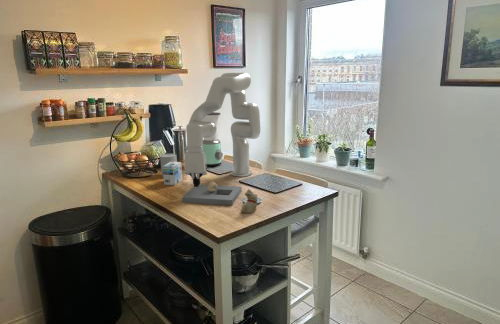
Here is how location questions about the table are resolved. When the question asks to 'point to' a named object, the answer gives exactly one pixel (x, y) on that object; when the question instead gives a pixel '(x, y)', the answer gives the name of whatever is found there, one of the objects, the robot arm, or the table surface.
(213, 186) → the ball
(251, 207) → the chocolate bunny
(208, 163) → the mint green blender
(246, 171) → the robot arm
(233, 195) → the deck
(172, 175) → the light bulb box
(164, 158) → the grey piece
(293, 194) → the table surface
